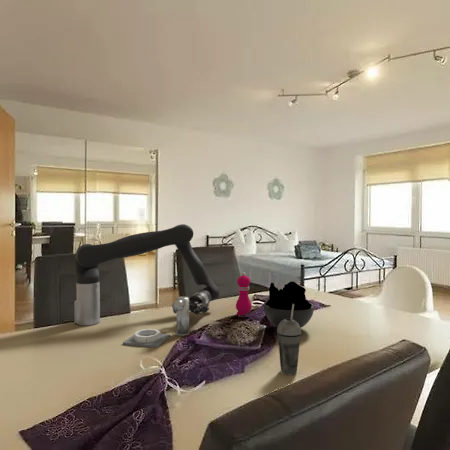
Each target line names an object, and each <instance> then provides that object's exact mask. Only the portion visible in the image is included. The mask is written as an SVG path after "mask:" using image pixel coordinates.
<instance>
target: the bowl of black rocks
mask: <svg viewBox="0 0 450 450" xmlns="http://www.w3.org/2000/svg"><path fill="white" fill-rule="evenodd" d="M306 292H307V290H306V288H305V287H304V286H302V285H300V284H298V283H296V281H293V280H292V281H289V282H287V283H286V284H284V285H283V287H282V288H278V287H276V286H275V283H274V282H271V283H270V284H269V288H268V293H269V294H268V300H266V301H264V303H263V310H264V314H265V316H266V318H267V319H268V320H269V321H270V323H271V324H272V325H274V326H275V327H276V328H278V325H279V323H280V322H281V321H282V320H284V319H288V318H289V319H291V312H292V304H294V310H293V318H292V319H293V320H295V321H296V322H297V323H298V324H299V326H300V328H303V327H305V326H306V325H308V323H309V322H310V320H311V319H312V318H313V315H314V312H315V305H314V304H313V303H312V302H309V301H308V299H307V296H306Z"/></svg>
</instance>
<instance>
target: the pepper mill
mask: <svg viewBox="0 0 450 450" xmlns="http://www.w3.org/2000/svg"><path fill="white" fill-rule="evenodd" d="M236 280H237V281H236V282H237V285H238V286H237V287H238V293H239V295H238V298H237V300H236V303H235V308H236V316H237V315H244V314H246V313H248V312H251V310H252V307H253V306H252V302H251V299H250V297H249V291H250V284H251V278H250V277H249V276H247V274H246V272H245V271H243V272H242V273H241V275H240V276H239V277H238V278H237V279H236Z"/></svg>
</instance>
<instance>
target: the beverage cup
mask: <svg viewBox="0 0 450 450" xmlns="http://www.w3.org/2000/svg"><path fill="white" fill-rule="evenodd" d="M293 310H294V304H292V312H291V319H289V318H288V319H284V320H282V321H281V322H280V323H279V325H278V327H276V329H277V330H276V334H277V335H276V336H277V340H278V353H279V363H280V364H279V365H280V372H281V373H282V374H283V375H287V376H294V375H296V374H297V371H298V366H299V365H298V364H299V356H300V355H299V352H300V343H301V339H302V335H303V333H302V330H301V328H302V327H301V328H300V326H299V324H298V323H297V322H296V321H295V320H293V319H292V318H293Z"/></svg>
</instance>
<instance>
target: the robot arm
mask: <svg viewBox="0 0 450 450" xmlns="http://www.w3.org/2000/svg"><path fill="white" fill-rule="evenodd" d="M193 237H194V230H193V228H192V227H191V226H189V225H187V224H183V223H181V224H177V225H175V226H174V227H170V228H167V229H163V230H156V231H146V232H141V233H135V234H131V235H128V236H123V237H121V238H119V239H117V240H114V241H111V242H106V243H101V244H100V243H99V244H91V243H84V244H82V245H80V246H78V248H77V249H76V251H75V278H76V279H75V281H76V285H75V286H76V300H74V324H75V323H77V325H78V324H79V325H78V326H93V325H96V323H97V324H99V323H100V322H101V299H100V298H101V293H100V291H101V288H100V276H101V275H100V269H99V268H100V267H99V265H100V264H102V263H106V262H109V261H112V260H117V259H124V258H131V257H135V256H139V255H144V254H147V253H150V252H153V251H156V250H160V249H162V248H164V247H168V246H173V245H174V246H175V247H176V249H177V251H178V252H179V253H180V255H181V257H182V258H183V260H184V263H186V264H185V265H186V266H187V268H188V270H189V273H190V274H191V278H192V279H193V281H194V283H195V285H197V286H202V285H203V286H206V287H202V288H200V289H199V290H198V291H197V292H196V293H194V294H192V295H191V296H188V297H189V313H190V312H191V313H193V314H194V315H195V316H197V315H199V314H202V313H204V314H206V313H207V312H208V311H209V310H210V303H211V302H213V301H215V300H218V299H219V298H220V295H221V293H220V290H219V289H220V288H219V287H218V286H217V285H216V283H214V281H213V280H212V279H211V278H210V276H209V274H208V272H207V269H206V268H205V266H204V264H203V262H202V261H201V259H200V258H199V257H198V255H197V253H196V252H195V251H194V249H193V247H192V245H191V241H192V239H193ZM172 311H173V313H174V314H177V311H174V310H173V309H172Z"/></svg>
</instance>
